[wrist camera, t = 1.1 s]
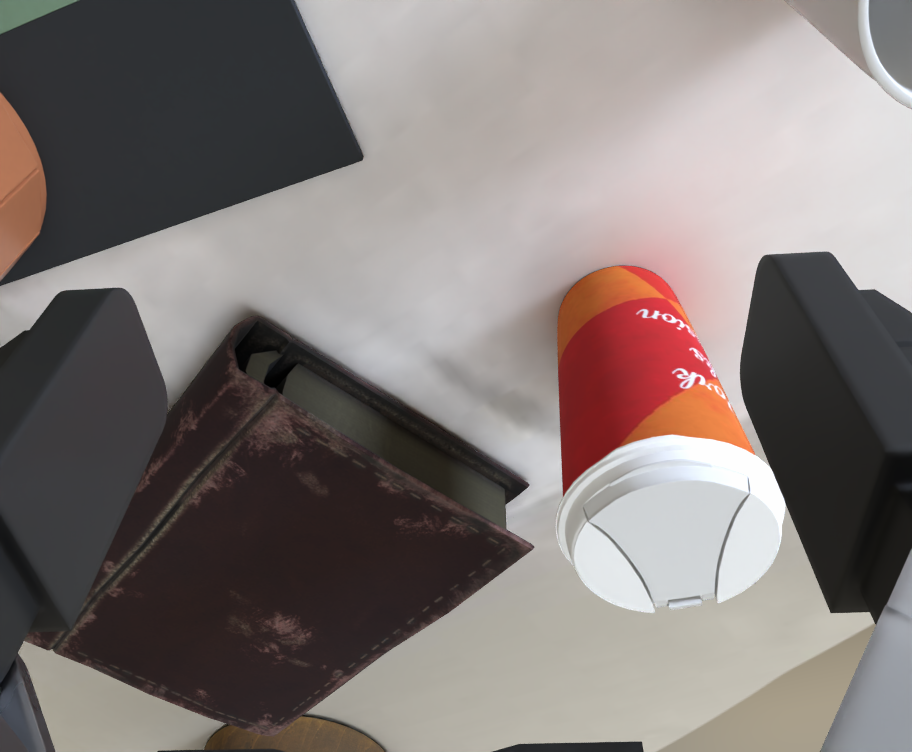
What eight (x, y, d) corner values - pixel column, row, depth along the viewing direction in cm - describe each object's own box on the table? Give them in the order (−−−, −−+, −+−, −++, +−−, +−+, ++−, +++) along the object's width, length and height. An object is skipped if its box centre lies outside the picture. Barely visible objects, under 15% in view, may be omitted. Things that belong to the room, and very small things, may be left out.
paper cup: (708, 363, 39) (800, 604, 28) (553, 395, 41) (581, 636, 30) (691, 222, 35) (793, 442, 24) (517, 263, 36) (534, 490, 25)
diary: (38, 567, 50) (0, 638, 46) (244, 301, 38) (216, 366, 34) (296, 679, 57) (283, 749, 53) (540, 485, 44) (546, 557, 41)
